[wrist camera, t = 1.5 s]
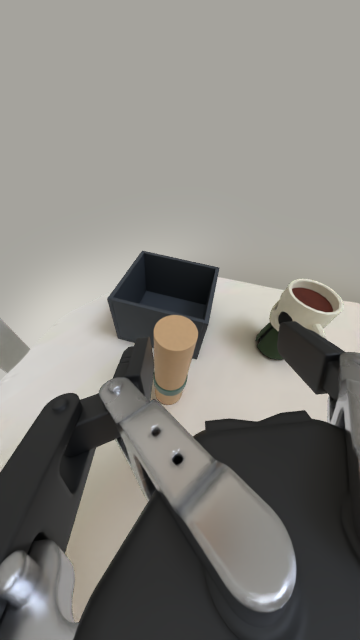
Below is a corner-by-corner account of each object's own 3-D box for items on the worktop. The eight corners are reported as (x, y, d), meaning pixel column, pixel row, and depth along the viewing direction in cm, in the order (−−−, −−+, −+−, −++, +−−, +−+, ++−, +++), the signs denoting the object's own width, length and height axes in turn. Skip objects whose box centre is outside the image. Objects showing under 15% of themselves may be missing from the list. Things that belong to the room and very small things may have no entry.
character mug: (247, 322, 39) (277, 267, 29) (281, 325, 39) (323, 272, 29) (259, 373, 32) (305, 324, 22) (300, 376, 32) (364, 329, 22)
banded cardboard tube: (150, 401, 28) (144, 345, 16) (159, 373, 30) (160, 309, 19) (179, 409, 27) (194, 358, 16) (185, 381, 30) (203, 319, 18)
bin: (117, 338, 34) (106, 298, 26) (144, 290, 42) (142, 250, 35) (196, 359, 33) (208, 324, 25) (208, 305, 41) (219, 267, 34)
